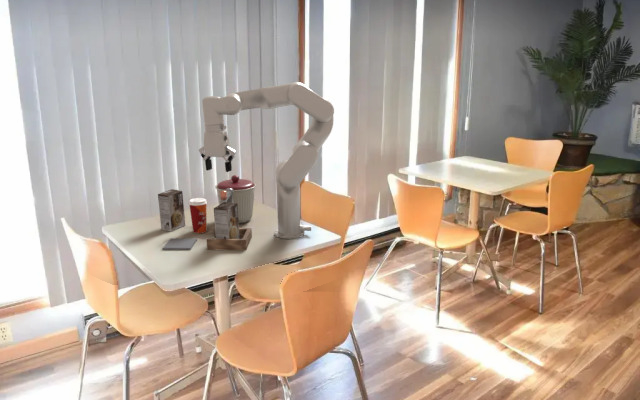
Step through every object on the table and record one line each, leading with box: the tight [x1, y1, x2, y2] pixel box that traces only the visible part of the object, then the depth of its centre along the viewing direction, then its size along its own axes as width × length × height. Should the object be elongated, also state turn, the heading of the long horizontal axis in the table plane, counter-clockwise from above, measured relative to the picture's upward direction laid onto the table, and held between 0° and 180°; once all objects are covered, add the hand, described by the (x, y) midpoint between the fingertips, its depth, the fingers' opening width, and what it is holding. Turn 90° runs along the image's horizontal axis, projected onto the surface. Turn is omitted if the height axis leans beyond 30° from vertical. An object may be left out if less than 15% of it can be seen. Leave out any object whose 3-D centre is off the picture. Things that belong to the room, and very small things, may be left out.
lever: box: [220, 188, 233, 202], centre depth 228 cm, size 15×3×4 cm, turn 178°
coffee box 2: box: [213, 202, 241, 239], centre depth 228 cm, size 9×6×16 cm
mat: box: [162, 237, 198, 251], centre depth 229 cm, size 11×11×1 cm
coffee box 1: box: [157, 189, 186, 232], centre depth 248 cm, size 9×6×16 cm
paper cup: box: [188, 197, 208, 234], centre depth 243 cm, size 8×8×14 cm
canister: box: [215, 174, 257, 224], centre depth 257 cm, size 18×18×21 cm
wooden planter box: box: [206, 194, 253, 251], centre depth 230 cm, size 16×18×18 cm
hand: (218, 170), depth 229 cm, fingers open, 9 cm apart
